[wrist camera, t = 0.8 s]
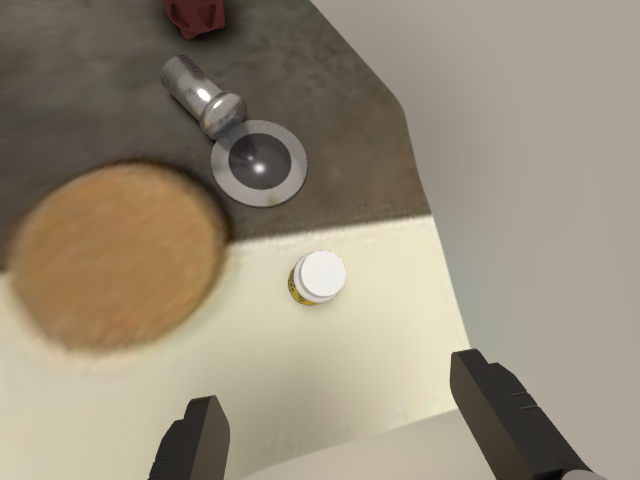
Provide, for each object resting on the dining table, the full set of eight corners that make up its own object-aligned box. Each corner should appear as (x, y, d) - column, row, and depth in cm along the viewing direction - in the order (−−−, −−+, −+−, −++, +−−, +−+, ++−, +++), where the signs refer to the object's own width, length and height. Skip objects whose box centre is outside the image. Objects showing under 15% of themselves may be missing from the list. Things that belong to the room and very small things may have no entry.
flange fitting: (143, 111, 35) (122, 74, 30) (217, 65, 39) (211, 24, 33) (258, 227, 34) (258, 209, 29) (324, 169, 38) (335, 144, 32)
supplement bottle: (281, 271, 34) (287, 255, 26) (320, 256, 35) (338, 237, 27) (297, 312, 33) (308, 309, 25) (336, 296, 34) (359, 288, 26)
